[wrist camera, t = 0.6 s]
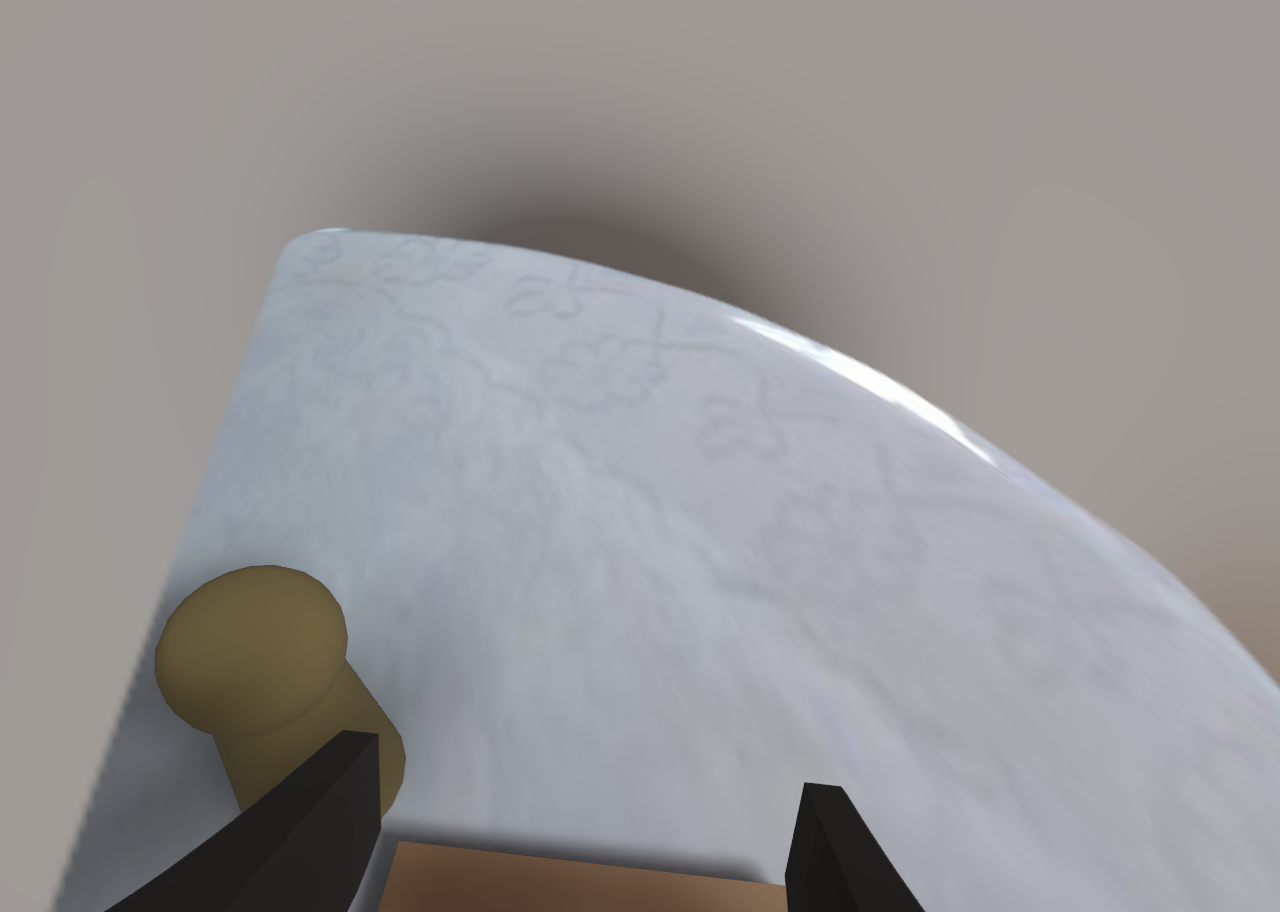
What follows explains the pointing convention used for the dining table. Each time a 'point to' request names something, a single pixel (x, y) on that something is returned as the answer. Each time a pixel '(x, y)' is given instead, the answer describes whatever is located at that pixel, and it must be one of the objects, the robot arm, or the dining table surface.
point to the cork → (269, 678)
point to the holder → (556, 886)
